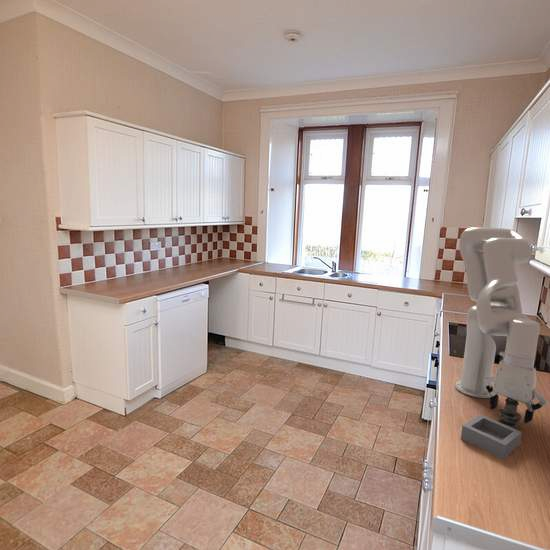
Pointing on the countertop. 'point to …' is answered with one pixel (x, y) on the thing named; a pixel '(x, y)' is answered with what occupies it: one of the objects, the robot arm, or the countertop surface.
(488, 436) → the holder
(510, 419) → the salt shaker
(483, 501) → the countertop surface
